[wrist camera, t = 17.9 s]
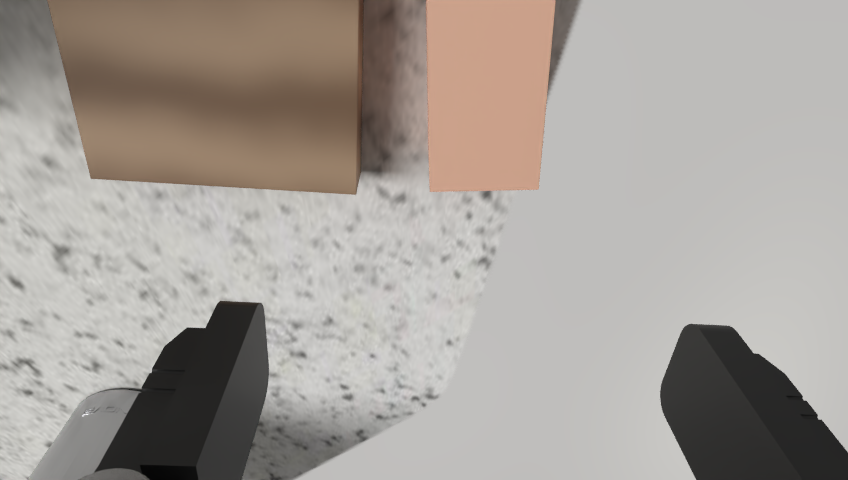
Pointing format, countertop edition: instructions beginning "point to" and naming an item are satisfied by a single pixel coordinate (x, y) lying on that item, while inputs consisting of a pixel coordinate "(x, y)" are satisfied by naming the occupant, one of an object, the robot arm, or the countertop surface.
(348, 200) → the countertop surface
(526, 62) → the cover
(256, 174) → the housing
